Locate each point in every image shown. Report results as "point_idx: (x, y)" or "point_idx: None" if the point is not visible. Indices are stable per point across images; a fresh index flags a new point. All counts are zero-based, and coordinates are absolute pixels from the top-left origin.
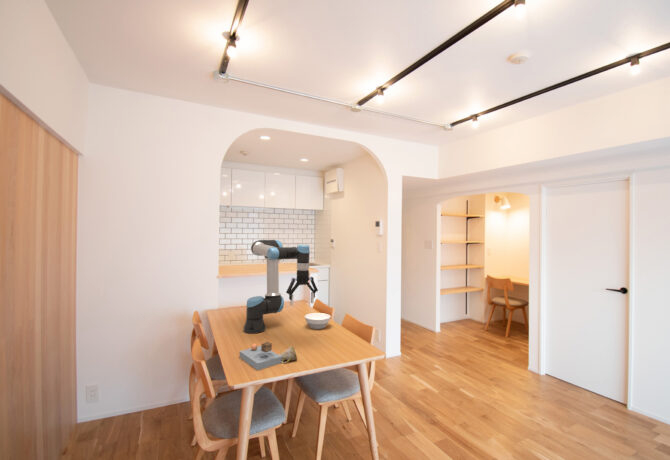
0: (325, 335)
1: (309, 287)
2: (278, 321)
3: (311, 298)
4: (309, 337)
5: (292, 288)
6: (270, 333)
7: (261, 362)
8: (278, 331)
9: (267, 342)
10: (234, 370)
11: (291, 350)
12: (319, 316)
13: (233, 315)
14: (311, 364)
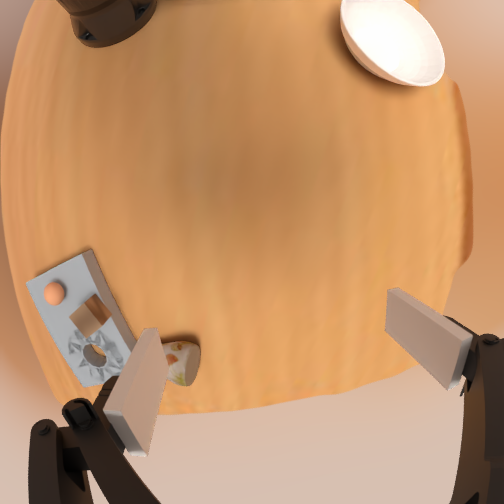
0: (381, 152)
1: (467, 444)
2: None
3: (412, 329)
4: (314, 147)
5: (106, 496)
6: (160, 50)
7: (91, 385)
8: (200, 34)
9: (87, 313)
10: (42, 353)
11: (175, 383)
12: (402, 14)
13: None
14: (236, 394)
